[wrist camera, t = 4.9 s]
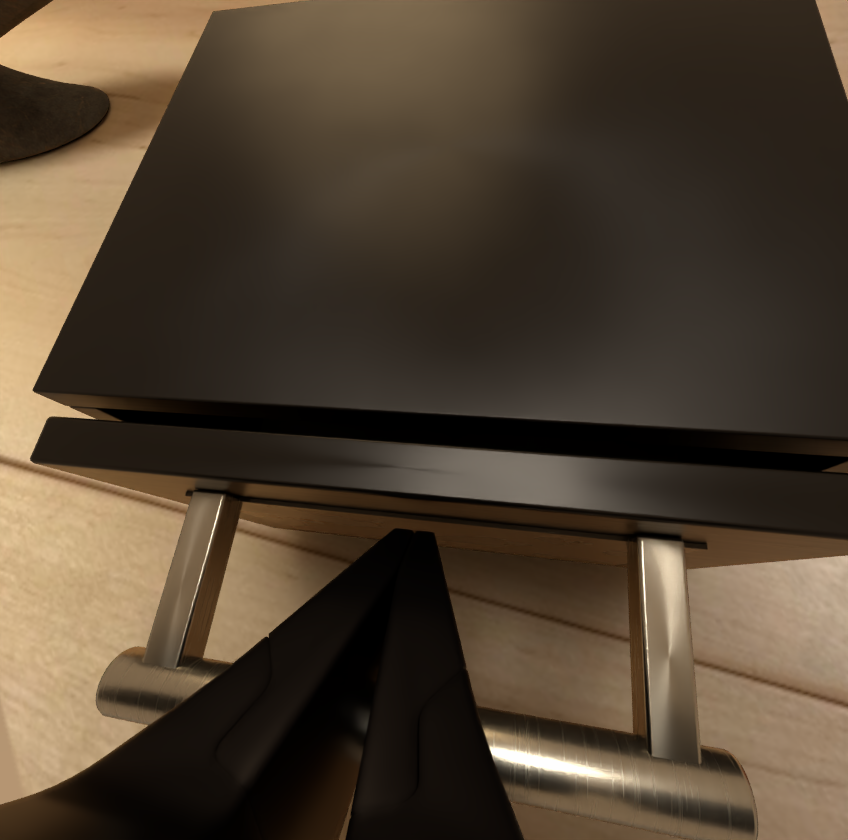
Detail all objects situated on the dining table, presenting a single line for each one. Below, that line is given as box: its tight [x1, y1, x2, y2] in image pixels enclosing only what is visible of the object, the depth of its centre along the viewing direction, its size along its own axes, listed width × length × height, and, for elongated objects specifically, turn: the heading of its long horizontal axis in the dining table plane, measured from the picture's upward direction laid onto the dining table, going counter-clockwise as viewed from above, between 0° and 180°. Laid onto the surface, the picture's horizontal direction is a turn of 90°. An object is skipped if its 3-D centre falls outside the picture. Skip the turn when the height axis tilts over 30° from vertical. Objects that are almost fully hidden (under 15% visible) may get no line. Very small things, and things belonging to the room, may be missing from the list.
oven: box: [33, 0, 848, 473], centre depth 16 cm, size 13×16×13 cm
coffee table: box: [0, 0, 109, 162], centre depth 31 cm, size 25×9×9 cm, turn 94°
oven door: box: [30, 417, 848, 840], centre depth 12 cm, size 5×15×11 cm, turn 83°
